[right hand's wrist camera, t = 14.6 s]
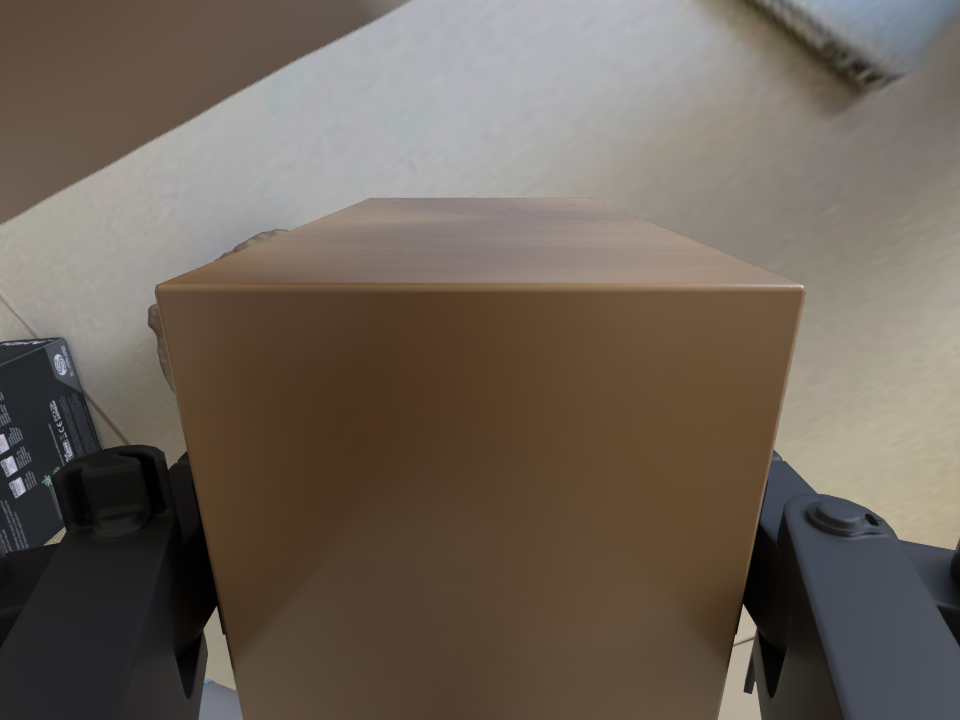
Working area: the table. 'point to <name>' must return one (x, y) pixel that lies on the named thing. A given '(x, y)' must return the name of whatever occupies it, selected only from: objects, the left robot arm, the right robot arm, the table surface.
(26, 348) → the graphics card box
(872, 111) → the table surface
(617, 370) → the wooden block
